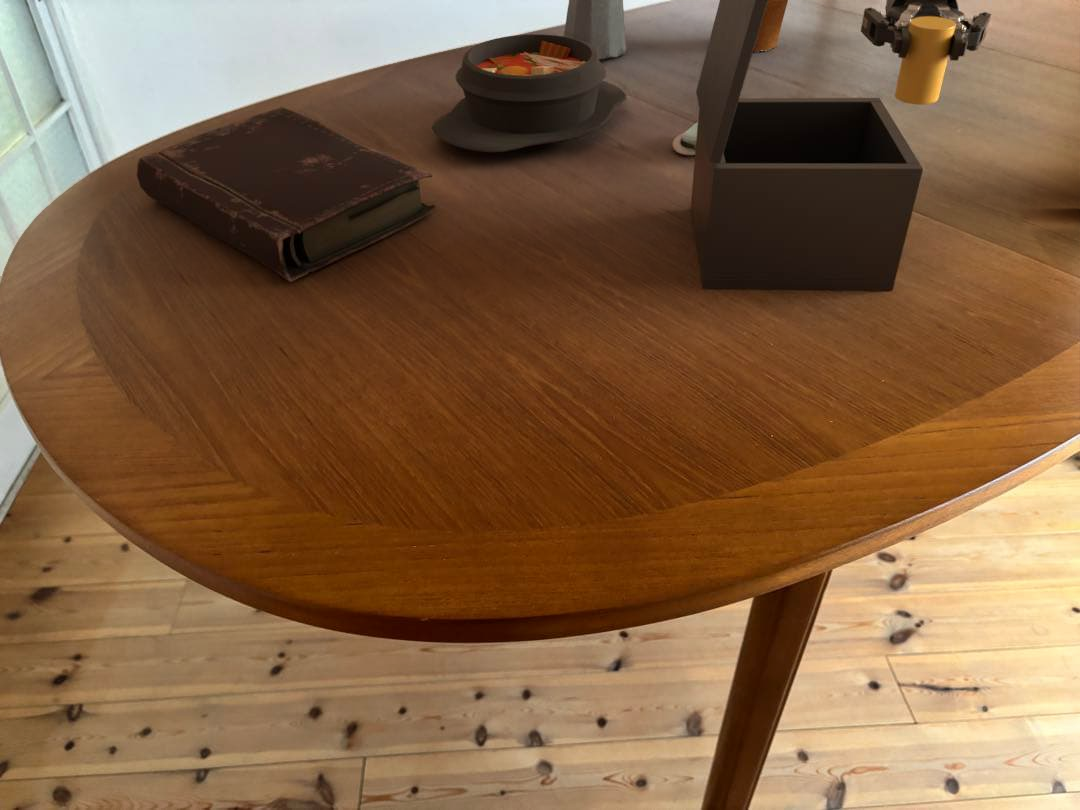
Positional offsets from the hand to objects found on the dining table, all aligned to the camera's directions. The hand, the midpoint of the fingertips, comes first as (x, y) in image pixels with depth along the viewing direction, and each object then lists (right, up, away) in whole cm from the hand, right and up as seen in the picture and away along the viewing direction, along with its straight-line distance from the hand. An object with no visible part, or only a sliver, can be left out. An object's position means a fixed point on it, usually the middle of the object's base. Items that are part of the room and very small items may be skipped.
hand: (930, 49), depth 96 cm
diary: (-66, -18, -4) cm, 69 cm away
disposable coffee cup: (-11, +13, +32) cm, 36 cm away
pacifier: (-23, -9, +5) cm, 26 cm away
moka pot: (-33, +11, +31) cm, 47 cm away
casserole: (-42, -5, +11) cm, 44 cm away
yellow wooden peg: (+1, -3, +6) cm, 7 cm away
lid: (-25, -7, -24) cm, 36 cm away
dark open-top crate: (-19, -23, -12) cm, 32 cm away
